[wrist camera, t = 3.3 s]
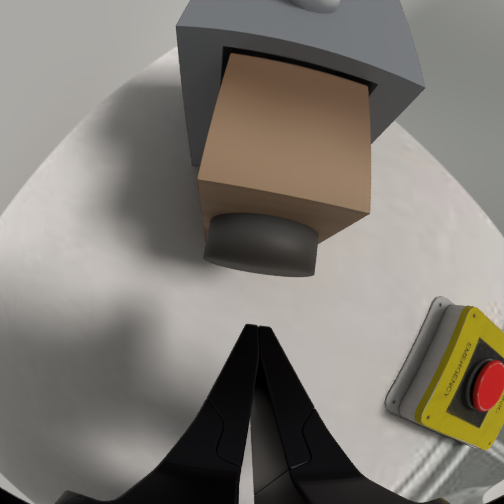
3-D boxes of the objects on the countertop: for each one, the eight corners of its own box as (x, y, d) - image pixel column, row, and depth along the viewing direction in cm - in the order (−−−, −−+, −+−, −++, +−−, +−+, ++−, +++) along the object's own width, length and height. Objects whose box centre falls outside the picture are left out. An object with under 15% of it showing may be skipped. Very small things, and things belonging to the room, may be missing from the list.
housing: (326, 190, 20) (442, 69, 7) (191, 165, 19) (173, -1, 7) (330, 112, 21) (409, -15, 9) (212, 88, 20) (220, -64, 8)
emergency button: (472, 287, 16) (547, 365, 16) (432, 291, 20) (515, 362, 20) (410, 423, 14) (505, 460, 14) (376, 405, 18) (475, 448, 19)
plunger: (287, 285, 18) (366, 264, 8) (201, 271, 18) (185, 232, 8) (299, 182, 19) (367, 86, 9) (221, 167, 19) (230, 53, 9)
